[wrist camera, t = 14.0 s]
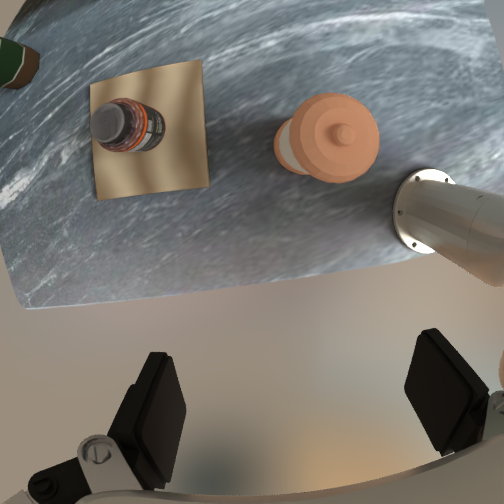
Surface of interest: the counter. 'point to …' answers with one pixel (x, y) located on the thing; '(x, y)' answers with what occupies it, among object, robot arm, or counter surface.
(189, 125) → the birch board
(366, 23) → the counter surface
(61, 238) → the counter surface
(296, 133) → the pepper shaker
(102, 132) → the supplement bottle
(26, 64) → the beer bottle
